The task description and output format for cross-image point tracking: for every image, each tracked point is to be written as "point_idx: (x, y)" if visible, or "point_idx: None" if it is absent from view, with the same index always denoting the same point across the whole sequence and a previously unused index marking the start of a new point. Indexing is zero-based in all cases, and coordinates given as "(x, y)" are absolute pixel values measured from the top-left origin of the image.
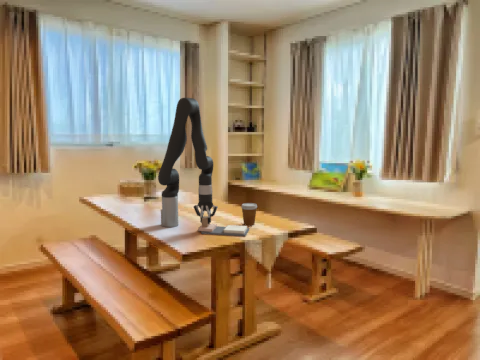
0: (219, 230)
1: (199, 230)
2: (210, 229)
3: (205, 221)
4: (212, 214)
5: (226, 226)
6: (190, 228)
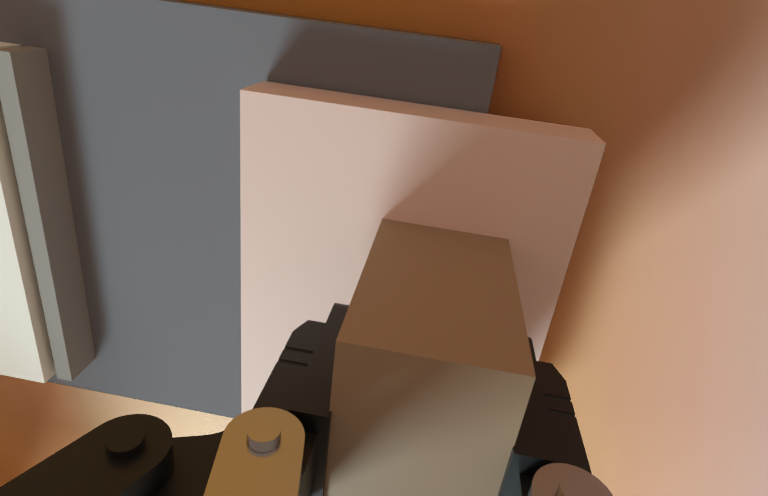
0: (153, 188)
1: (554, 127)
2: (284, 93)
3: (406, 294)
4: (88, 479)
5: (53, 325)
6: (731, 400)
